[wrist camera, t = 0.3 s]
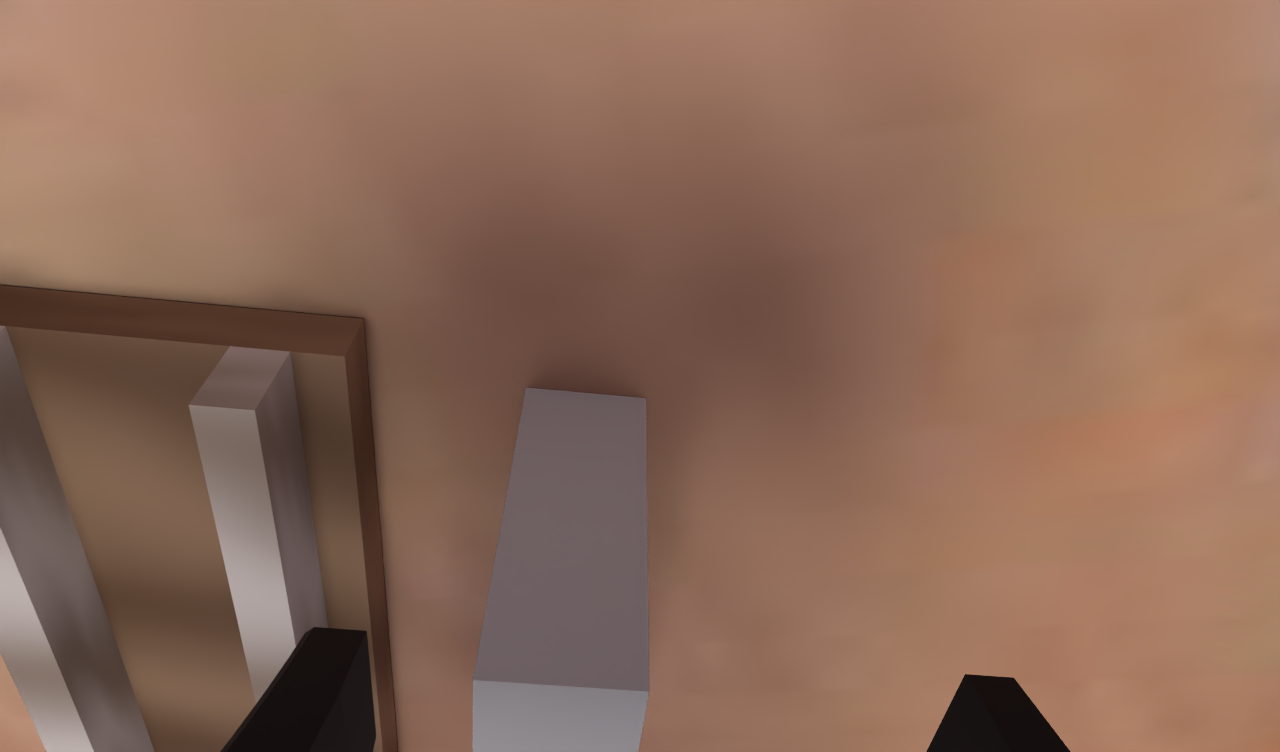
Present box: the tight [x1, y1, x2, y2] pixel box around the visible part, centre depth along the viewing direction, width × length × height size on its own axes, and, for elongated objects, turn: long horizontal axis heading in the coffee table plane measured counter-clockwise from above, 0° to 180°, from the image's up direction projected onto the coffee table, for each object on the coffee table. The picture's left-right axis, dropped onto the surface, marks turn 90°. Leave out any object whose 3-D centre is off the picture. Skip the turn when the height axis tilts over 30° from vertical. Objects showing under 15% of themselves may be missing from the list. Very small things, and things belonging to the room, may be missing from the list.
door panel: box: [473, 388, 649, 752], centre depth 20 cm, size 10×3×8 cm, turn 174°
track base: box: [0, 285, 398, 752], centre depth 23 cm, size 18×9×4 cm, turn 174°
